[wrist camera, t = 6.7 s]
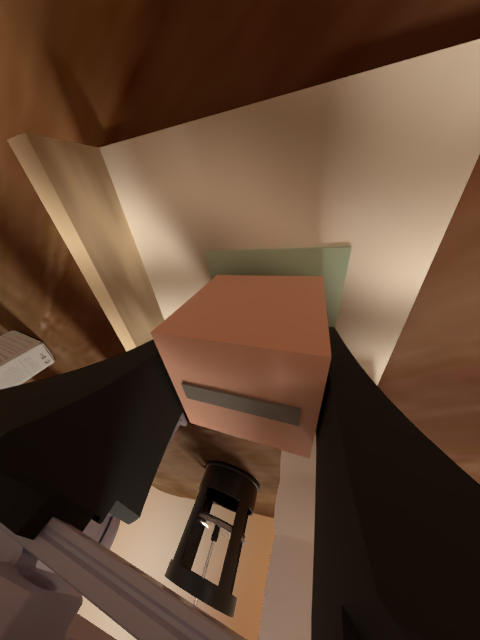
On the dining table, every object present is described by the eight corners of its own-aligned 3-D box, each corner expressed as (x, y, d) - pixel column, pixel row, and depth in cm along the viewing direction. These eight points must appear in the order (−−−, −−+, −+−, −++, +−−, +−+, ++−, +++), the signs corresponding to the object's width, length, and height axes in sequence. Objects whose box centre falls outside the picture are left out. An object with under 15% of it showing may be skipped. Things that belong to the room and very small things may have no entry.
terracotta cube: (322, 276, 8) (332, 359, 4) (311, 360, 11) (309, 461, 7) (217, 275, 10) (147, 334, 6) (229, 349, 12) (188, 424, 8)
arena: (367, 392, 13) (382, 451, 10) (175, 357, 18) (148, 390, 15) (510, 42, 5) (783, -165, 2) (96, 154, 10) (6, 139, 7)
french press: (233, 459, 28) (79, 964, 10) (275, 491, 30) (211, 964, 11) (192, 461, 34) (58, 758, 16) (228, 488, 36) (143, 779, 18)
